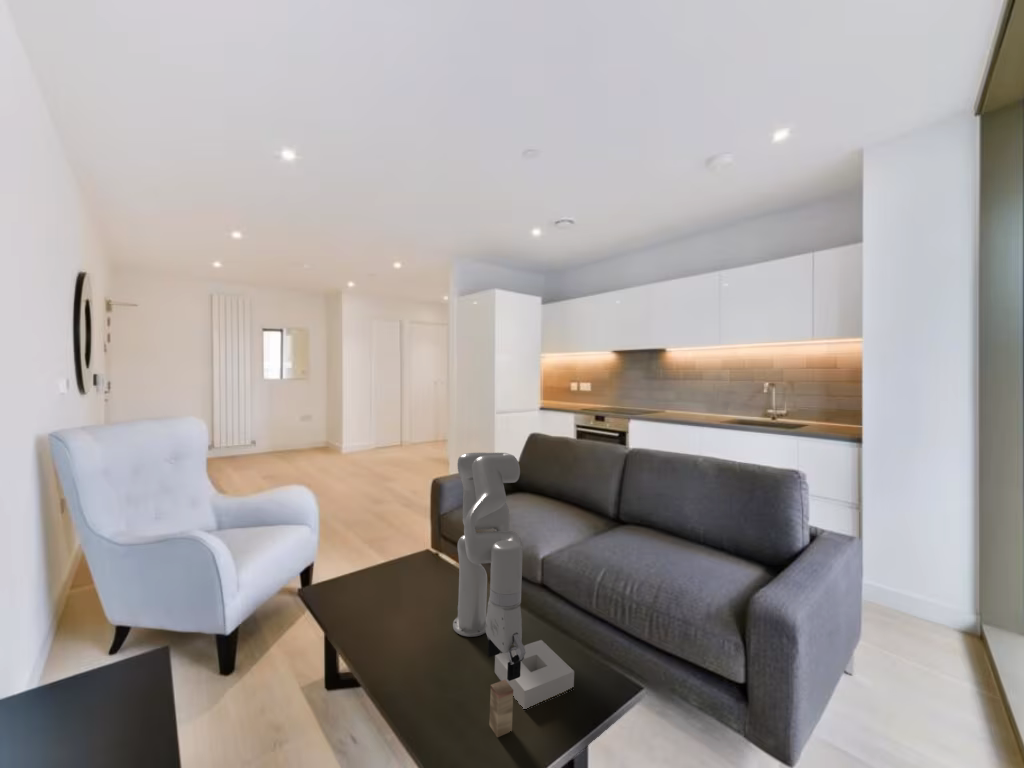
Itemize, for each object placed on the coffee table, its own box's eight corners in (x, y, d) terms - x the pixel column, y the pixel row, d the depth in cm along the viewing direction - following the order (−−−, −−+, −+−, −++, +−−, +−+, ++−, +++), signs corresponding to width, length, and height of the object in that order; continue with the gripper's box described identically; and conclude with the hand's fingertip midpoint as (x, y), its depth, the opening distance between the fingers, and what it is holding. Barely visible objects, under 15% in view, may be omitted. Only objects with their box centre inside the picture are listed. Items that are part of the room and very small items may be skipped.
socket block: (494, 672, 124) (495, 655, 124) (540, 655, 132) (541, 639, 132) (524, 710, 110) (524, 691, 110) (573, 689, 118) (574, 671, 118)
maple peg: (489, 725, 105) (490, 684, 105) (503, 719, 107) (505, 679, 107) (497, 737, 102) (498, 695, 101) (512, 731, 104) (513, 689, 103)
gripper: (475, 583, 109) (473, 651, 109) (510, 615, 94) (507, 694, 94) (501, 577, 113) (499, 642, 113) (538, 607, 98) (536, 683, 98)
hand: (503, 666), depth 104 cm, fingers open, 9 cm apart
